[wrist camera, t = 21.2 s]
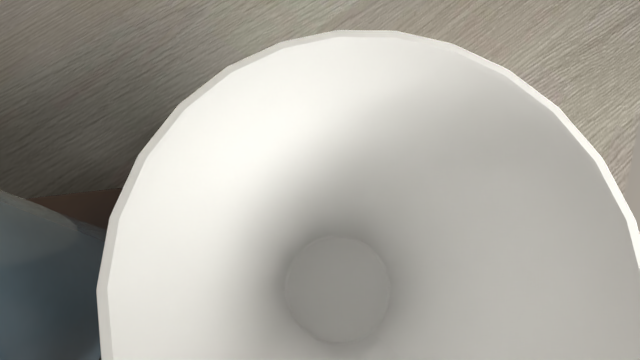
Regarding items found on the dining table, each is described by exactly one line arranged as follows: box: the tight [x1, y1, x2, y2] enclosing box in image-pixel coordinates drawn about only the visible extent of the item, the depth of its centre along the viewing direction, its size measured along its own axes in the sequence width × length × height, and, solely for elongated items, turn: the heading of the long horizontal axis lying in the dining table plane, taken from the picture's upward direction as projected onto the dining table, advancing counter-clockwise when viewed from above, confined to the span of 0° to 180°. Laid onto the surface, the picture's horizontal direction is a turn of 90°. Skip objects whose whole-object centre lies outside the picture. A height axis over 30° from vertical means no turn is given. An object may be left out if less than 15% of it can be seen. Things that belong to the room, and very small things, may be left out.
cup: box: [96, 30, 640, 360], centre depth 14 cm, size 10×10×14 cm
